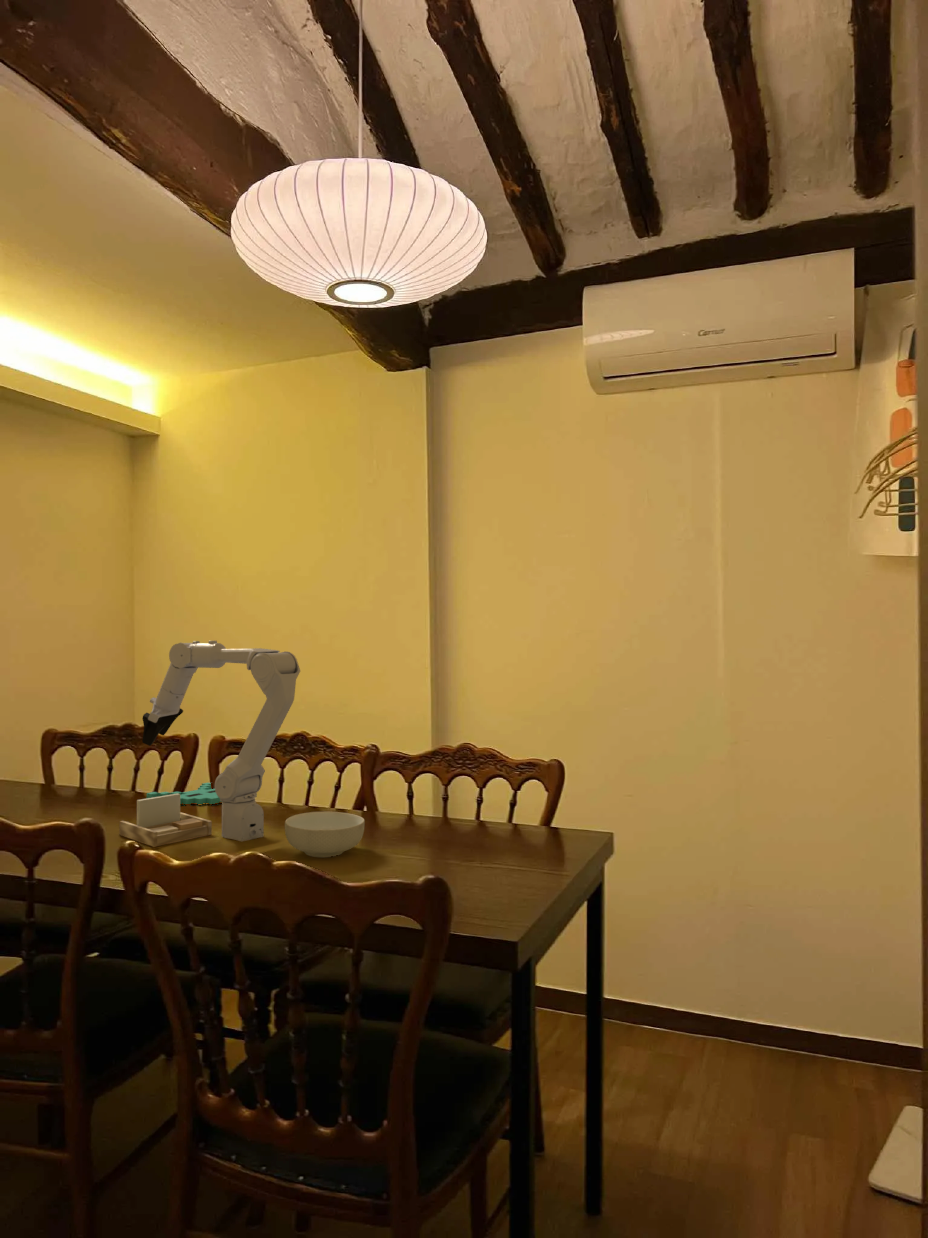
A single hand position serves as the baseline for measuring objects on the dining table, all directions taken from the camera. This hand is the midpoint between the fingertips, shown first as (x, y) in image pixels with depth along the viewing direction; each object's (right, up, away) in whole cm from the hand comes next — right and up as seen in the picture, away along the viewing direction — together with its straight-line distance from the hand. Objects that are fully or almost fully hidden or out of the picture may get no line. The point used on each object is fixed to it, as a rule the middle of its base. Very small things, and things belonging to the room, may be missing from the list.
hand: (153, 738), depth 201 cm
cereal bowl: (+45, -22, -21) cm, 54 cm away
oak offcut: (+12, -20, -12) cm, 26 cm away
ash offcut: (+8, -20, -16) cm, 27 cm away
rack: (+7, -21, -11) cm, 25 cm away
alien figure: (+1, -22, +32) cm, 39 cm away
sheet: (+5, -20, -9) cm, 23 cm away
